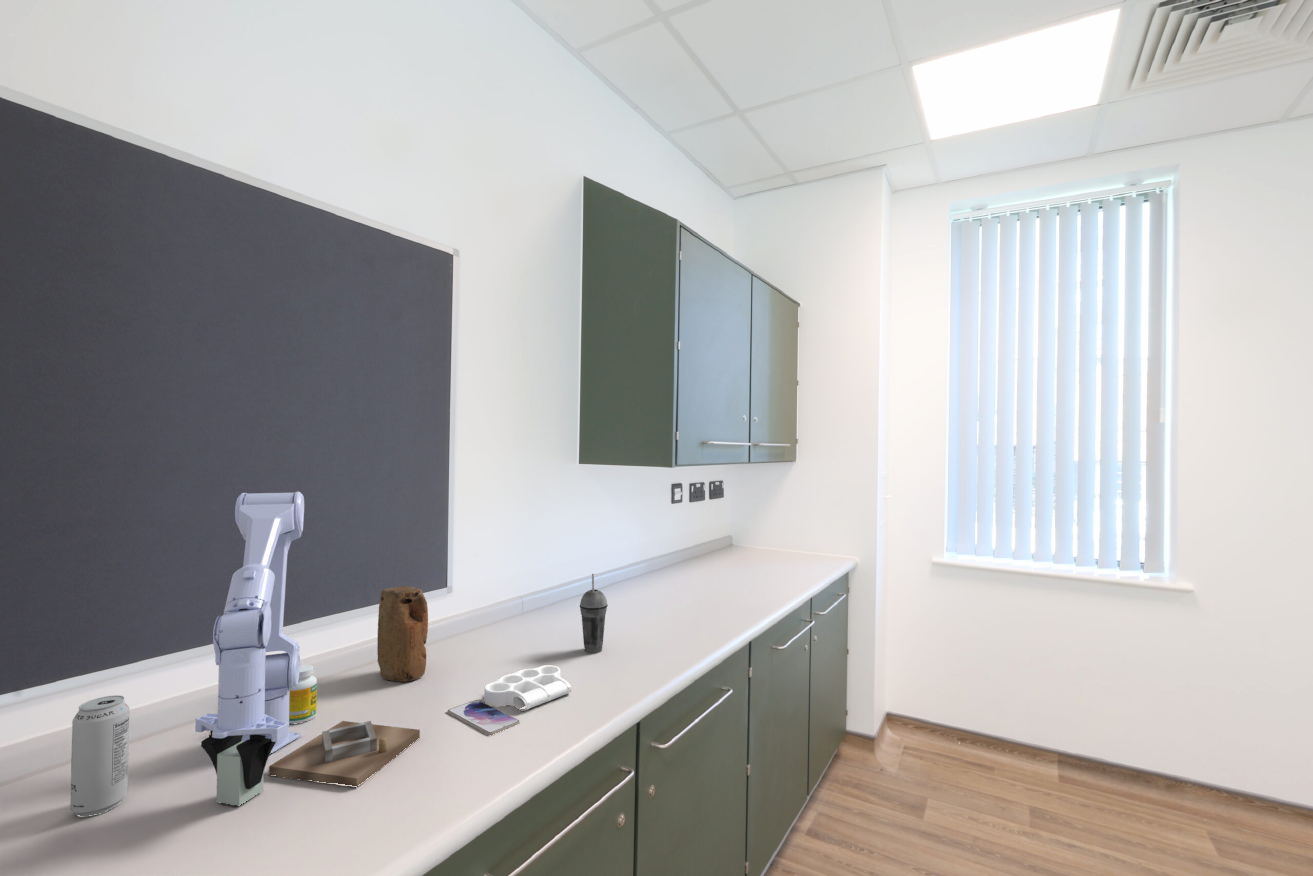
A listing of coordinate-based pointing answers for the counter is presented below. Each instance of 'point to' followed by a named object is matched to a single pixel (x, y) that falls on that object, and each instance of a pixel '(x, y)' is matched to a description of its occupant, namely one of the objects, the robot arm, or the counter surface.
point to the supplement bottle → (303, 697)
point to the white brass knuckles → (527, 688)
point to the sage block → (233, 779)
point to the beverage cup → (593, 619)
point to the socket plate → (344, 767)
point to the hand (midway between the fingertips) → (240, 783)
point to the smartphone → (483, 717)
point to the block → (402, 633)
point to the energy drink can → (99, 755)
